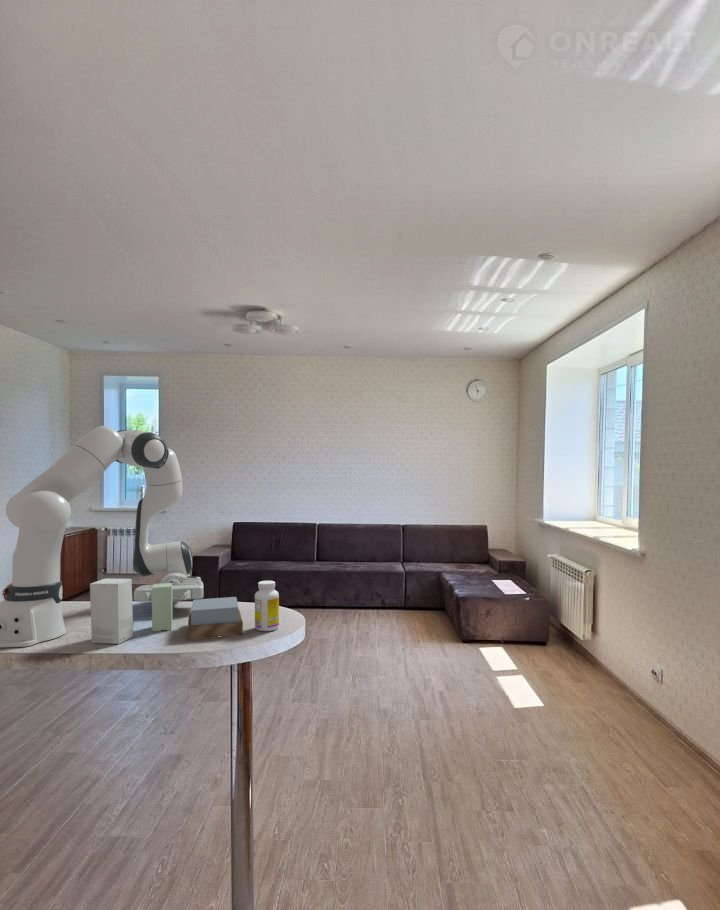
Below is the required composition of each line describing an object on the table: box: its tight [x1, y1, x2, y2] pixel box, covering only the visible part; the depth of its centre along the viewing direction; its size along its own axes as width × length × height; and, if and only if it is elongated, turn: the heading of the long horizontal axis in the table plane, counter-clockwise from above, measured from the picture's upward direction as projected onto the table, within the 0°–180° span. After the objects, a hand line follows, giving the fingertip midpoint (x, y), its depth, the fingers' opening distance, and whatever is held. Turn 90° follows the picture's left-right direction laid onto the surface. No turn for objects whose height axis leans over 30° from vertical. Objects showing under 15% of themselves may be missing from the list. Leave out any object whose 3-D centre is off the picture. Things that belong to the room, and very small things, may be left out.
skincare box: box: [89, 578, 134, 645], centre depth 140 cm, size 8×7×16 cm
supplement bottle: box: [254, 580, 280, 632], centre depth 149 cm, size 7×7×13 cm
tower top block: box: [190, 596, 239, 626], centre depth 148 cm, size 12×12×4 cm
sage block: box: [151, 583, 173, 632], centre depth 150 cm, size 5×5×12 cm
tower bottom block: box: [187, 608, 244, 641], centre depth 148 cm, size 14×14×4 cm
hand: (166, 598), depth 158 cm, fingers open, 8 cm apart
